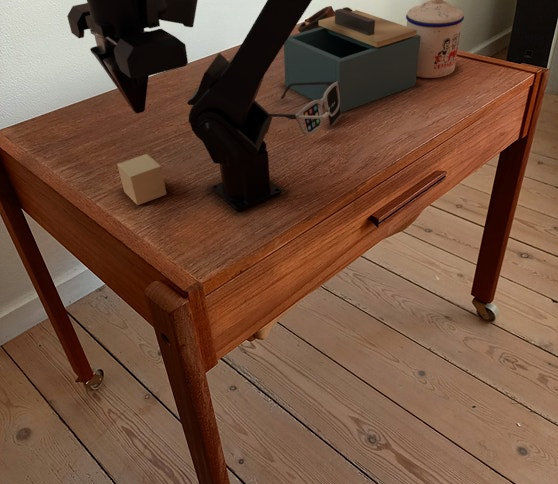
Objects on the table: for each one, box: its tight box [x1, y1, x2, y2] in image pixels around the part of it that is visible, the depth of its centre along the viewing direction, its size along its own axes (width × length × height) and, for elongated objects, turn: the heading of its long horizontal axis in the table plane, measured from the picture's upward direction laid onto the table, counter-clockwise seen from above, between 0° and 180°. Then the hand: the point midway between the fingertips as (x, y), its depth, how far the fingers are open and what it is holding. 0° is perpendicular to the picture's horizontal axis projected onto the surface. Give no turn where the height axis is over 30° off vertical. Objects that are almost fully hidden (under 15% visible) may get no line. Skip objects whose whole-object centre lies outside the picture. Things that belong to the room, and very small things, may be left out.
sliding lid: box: [319, 8, 417, 47], centre depth 91 cm, size 14×8×3 cm, turn 35°
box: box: [283, 27, 421, 114], centre depth 93 cm, size 14×16×8 cm
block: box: [117, 153, 167, 206], centre depth 72 cm, size 4×4×4 cm
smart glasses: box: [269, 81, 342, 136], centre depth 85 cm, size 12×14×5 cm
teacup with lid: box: [405, 0, 465, 79], centre depth 97 cm, size 12×9×12 cm
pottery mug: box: [297, 5, 354, 33], centre depth 108 cm, size 12×10×8 cm
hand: (139, 111), depth 68 cm, fingers closed
